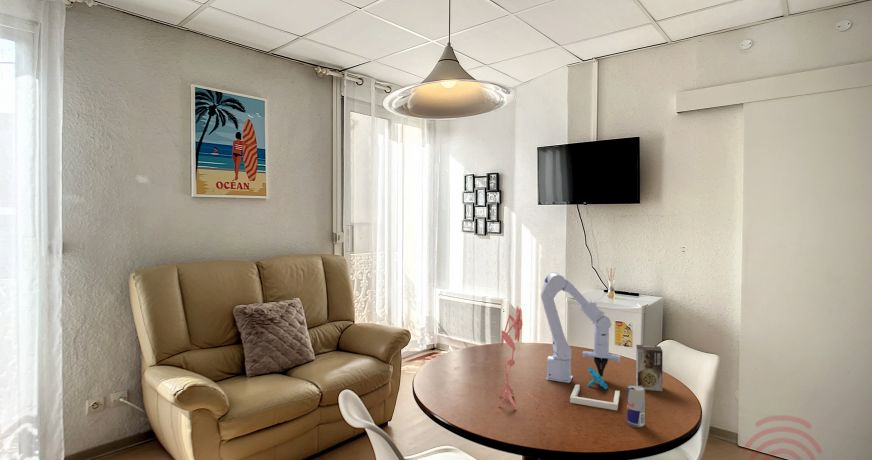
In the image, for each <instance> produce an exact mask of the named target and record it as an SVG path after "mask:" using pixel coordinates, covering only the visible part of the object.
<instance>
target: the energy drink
mask: <svg viewBox="0 0 872 460" xmlns="http://www.w3.org/2000/svg"><path fill="white" fill-rule="evenodd" d="M645 410H646V390H644V388H643V387H641V386H638V385H636V384H630V385H627V389H626V423H627V424H628V426H630V427H634V428H643V427H644V426H645V417H646V415H645V412H646V411H645Z"/></svg>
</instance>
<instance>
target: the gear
mask: <svg viewBox="0 0 872 460" xmlns="http://www.w3.org/2000/svg"><path fill="white" fill-rule="evenodd" d="M587 370H588V372H589V373H590V375H591V377H592V378H593V379H592V380H591V381H590V382H589V383H588V384H587V386H588V387H591V386H592V385H594V384H595V383H599V386H600V387H602V388H603V389H604V390H607V389H609V387H608V384H607V383H606V382H605V381H606V380H604V378H603V377H601V376H600V374H599V373H598V371H596V370H595V369H594V368H593V367H588V368H587Z"/></svg>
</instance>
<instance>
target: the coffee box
mask: <svg viewBox="0 0 872 460" xmlns="http://www.w3.org/2000/svg"><path fill="white" fill-rule="evenodd" d="M635 347H636V349H635V351H636V356H635V357H636V358H635V359H636V361H635V363H636V364H635V365H636V367H635V370H636V371H635V375H636V376H635V380H636V381H635V385H638V386H641V387H643V388H644V390H645V391H646V390H647V391H655V392H663V352H664V351H663V349H662V347H661V346H659V345H648V344H646V345H645V344H636V346H635Z"/></svg>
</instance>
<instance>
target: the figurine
mask: <svg viewBox="0 0 872 460" xmlns="http://www.w3.org/2000/svg"><path fill="white" fill-rule="evenodd" d="M521 316H522V308H519V306H518V305H517V306H516V310H515V318H514V317H513V316H512V315H511V314H509V315H508V318H507V320H506V325H505V329H504V330H501V331H500V332H501V338H500V347H503V344H504V342H505V343H506V344H507V345H508V347H510V348H511V349H512V352H511V358H508V359H507V361H506V363H505V364H504V369H505V371H504V372H505V377H506V381H504V384H505V385H504V387H503V388H502V391H501V392H500V394H499V395H498V396H499V398H501V397H502V395H503V394H504V393H505V394H504V396H503V398H502V399H501V401H500V402H499V405H498V407H499V408H500V407H502V405H503V402H504V401H505V398H507V400H508V401H509V403H510V405H511V406H512V407H513V408H514V410H517V406H516V404H515V403H516V402H515V401H514V399H513V396H514V390H513V389H512V387H511V385H510V383H509V373H510V371H511V369H512V367H513V366H514V365H515V363H516V361H515V360H514V352H515V351H516V346H515V342H514V340H515V341H516V342H517V343H520V335H521V334H520V333H521V332H520V331H521V330H522V327H523V320H522V319H521ZM510 320H511V322H512V325H511V326H510V327H509V329H508V330H507V328H508V325H509V321H510ZM512 329H514V340H513V338H512V337H511V336H510V335H509V333H510V331H511V330H512ZM506 331H507V332H506ZM507 365H508V366H509V369H508V370H507ZM524 394H526V395H529V396H531V397H532V398H533V399H535V396H532V395H530V394H529V393H527V392H524ZM536 402H537V403H539V401H538V400H536ZM537 409H538V407H536V408H535V410H537ZM495 413H497V414H499V412H498V411H496V412H495Z"/></svg>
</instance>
